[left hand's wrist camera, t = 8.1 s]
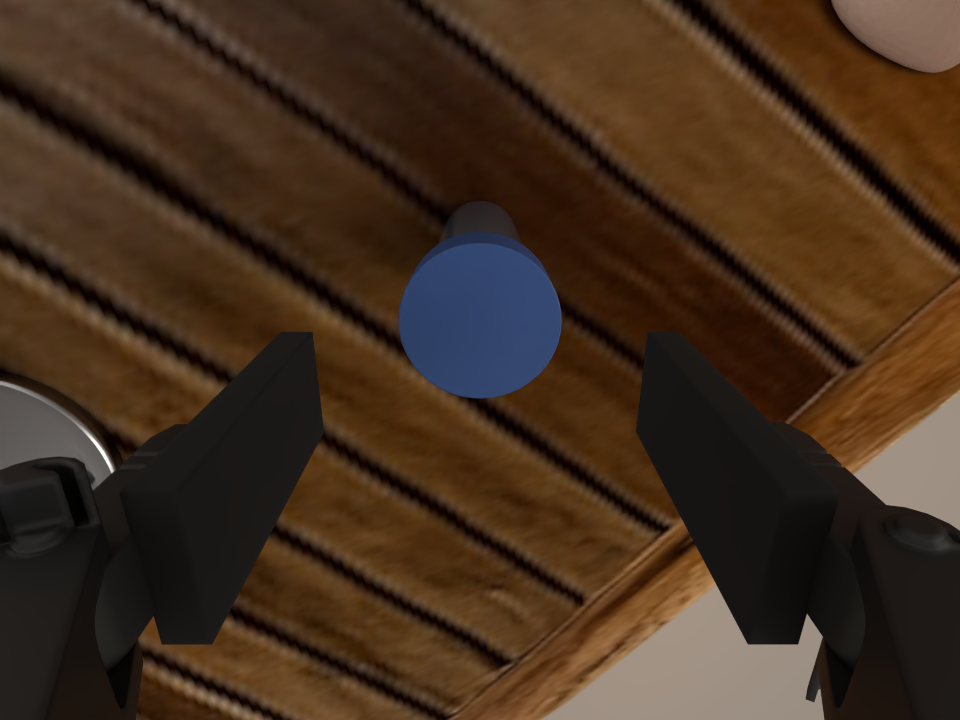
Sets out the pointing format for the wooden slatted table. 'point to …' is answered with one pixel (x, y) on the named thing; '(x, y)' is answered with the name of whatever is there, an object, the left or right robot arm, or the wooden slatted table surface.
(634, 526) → the wooden slatted table surface
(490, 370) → the lid
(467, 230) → the jar
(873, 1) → the anatomical model
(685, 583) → the wooden slatted table surface
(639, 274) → the wooden slatted table surface
